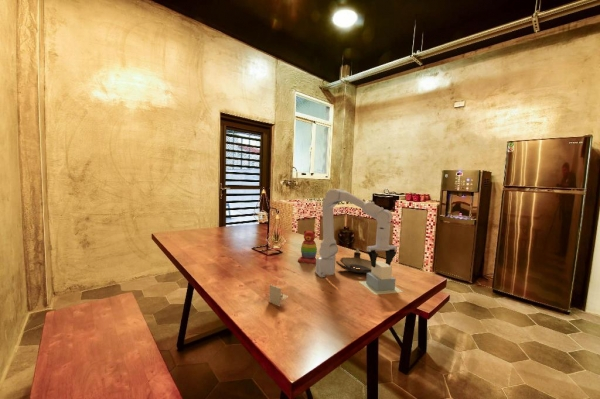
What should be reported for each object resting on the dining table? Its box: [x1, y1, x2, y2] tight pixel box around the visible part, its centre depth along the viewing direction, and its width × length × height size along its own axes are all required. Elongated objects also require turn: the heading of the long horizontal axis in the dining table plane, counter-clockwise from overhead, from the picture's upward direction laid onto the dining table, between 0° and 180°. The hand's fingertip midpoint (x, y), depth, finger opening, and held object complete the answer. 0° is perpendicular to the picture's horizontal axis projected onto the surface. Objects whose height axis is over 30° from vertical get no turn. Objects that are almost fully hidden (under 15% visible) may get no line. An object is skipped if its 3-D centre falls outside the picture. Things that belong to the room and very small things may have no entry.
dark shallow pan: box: [335, 248, 372, 274], centre depth 142 cm, size 22×30×8 cm
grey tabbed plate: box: [268, 284, 289, 307], centre depth 100 cm, size 3×7×7 cm, turn 53°
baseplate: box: [359, 280, 404, 296], centre depth 118 cm, size 14×14×1 cm
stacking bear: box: [297, 230, 318, 265], centre depth 152 cm, size 11×10×18 cm
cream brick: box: [370, 260, 393, 280], centre depth 117 cm, size 5×8×6 cm, turn 17°
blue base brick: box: [365, 272, 396, 292], centre depth 118 cm, size 9×9×5 cm
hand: (380, 266), depth 118 cm, fingers open, 7 cm apart
